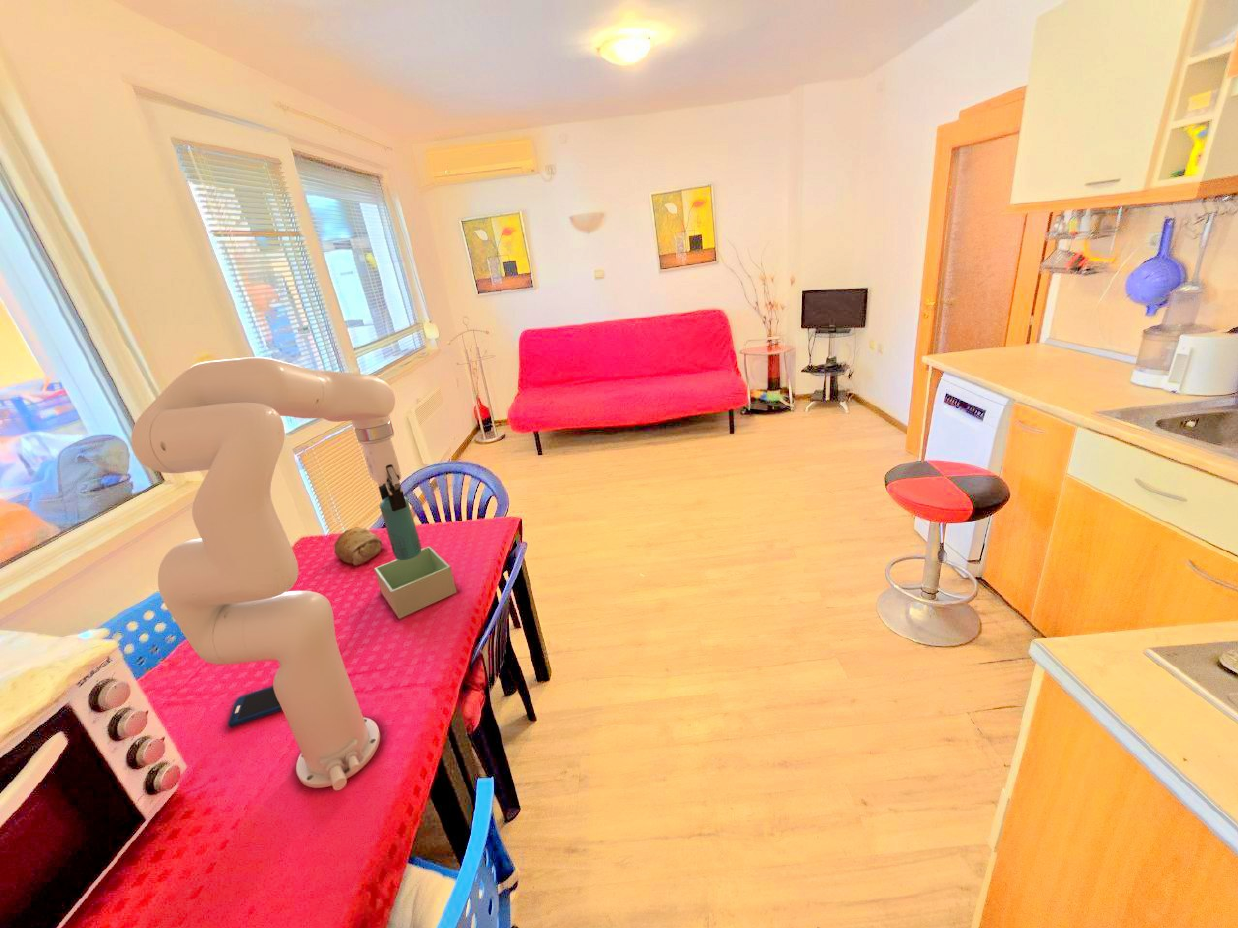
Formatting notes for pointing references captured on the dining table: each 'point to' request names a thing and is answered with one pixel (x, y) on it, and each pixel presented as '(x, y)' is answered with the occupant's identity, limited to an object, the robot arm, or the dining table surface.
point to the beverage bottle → (400, 528)
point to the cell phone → (254, 706)
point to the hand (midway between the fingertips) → (394, 503)
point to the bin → (415, 582)
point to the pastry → (357, 546)
